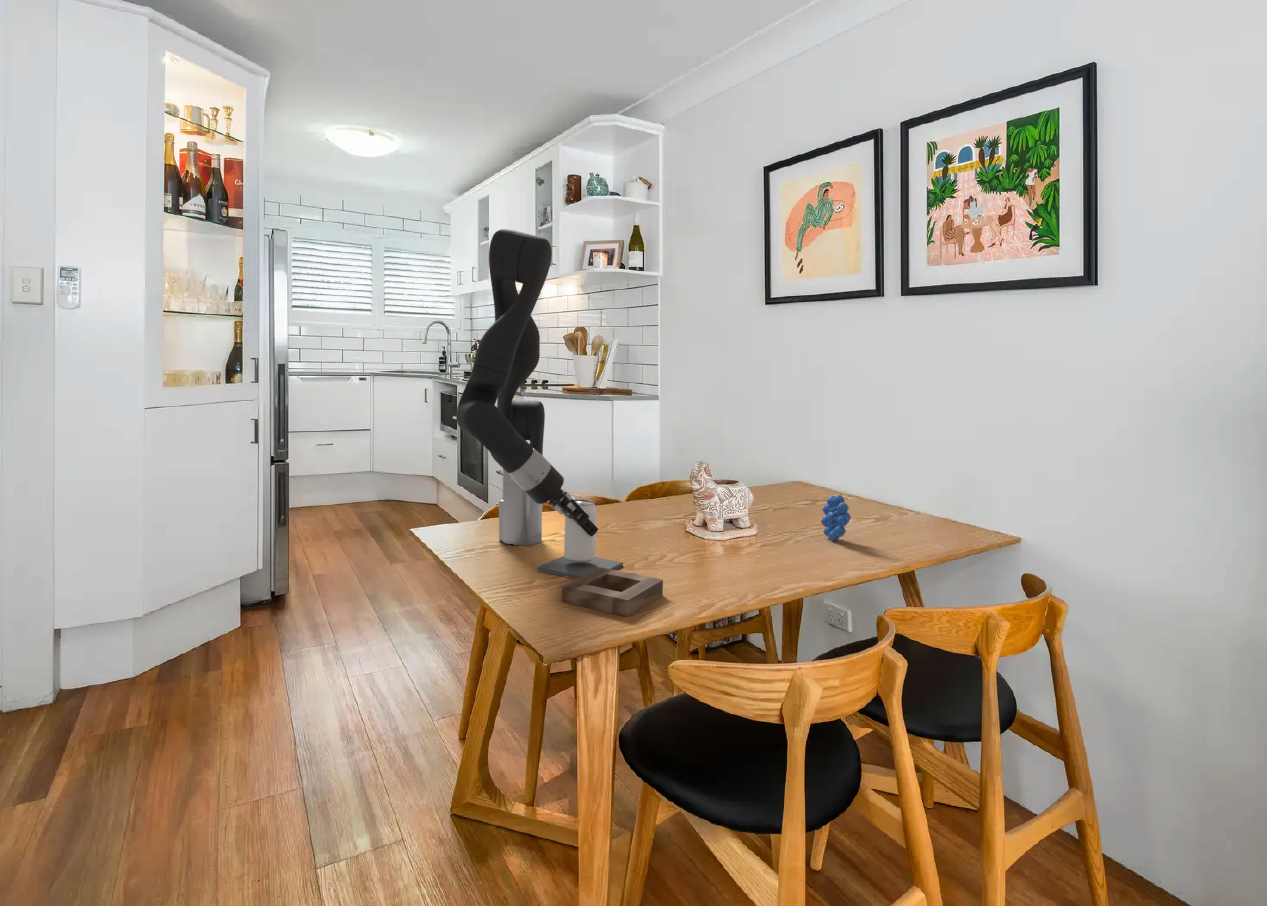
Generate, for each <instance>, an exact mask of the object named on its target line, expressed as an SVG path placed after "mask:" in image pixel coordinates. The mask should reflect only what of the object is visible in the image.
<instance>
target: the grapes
mask: <svg viewBox="0 0 1267 906" xmlns="http://www.w3.org/2000/svg"><path fill="white" fill-rule="evenodd" d="M845 500H846V499H844V497H843V496H842V495H841V494H836V495H831V496H830V497H828V499H827V500H826V504H825V505H824V506H823V508H822V509H821V510H822V513H823V514H824V516H823V517H822V519H821V520H820V521H821V525H822V526H823V527H825V528H824V529H823V531H822V532H823V534H824V535H825V537H827V538H828V539H829V540H831V541H832V542H836V541H838V540H839V539H840V538H841V537H843V536H844V535H845V534H846V532H847V530H846V528H845V527H846V526H847V525H848V524H849V523H850V520H851V518H852V517H851V515H850V513H849V512H848V511H849V509H850V507H849V505H848V504H847V503H846V502H845Z"/></svg>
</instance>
